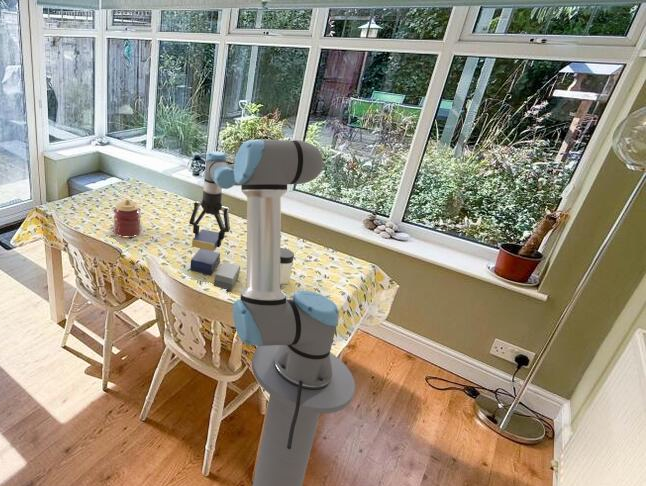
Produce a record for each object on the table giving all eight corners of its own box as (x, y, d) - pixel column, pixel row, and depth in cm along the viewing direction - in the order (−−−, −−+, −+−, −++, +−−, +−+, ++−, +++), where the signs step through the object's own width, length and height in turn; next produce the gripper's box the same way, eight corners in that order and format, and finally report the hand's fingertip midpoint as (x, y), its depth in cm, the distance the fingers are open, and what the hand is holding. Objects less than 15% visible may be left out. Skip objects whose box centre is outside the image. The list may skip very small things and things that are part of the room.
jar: (263, 278, 164) (267, 251, 160) (273, 270, 170) (278, 245, 165) (283, 287, 158) (288, 260, 154) (294, 279, 164) (299, 253, 159)
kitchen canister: (110, 229, 204) (109, 196, 197) (134, 225, 208) (134, 192, 202) (119, 240, 193) (119, 206, 186) (144, 236, 197) (145, 202, 191)
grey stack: (231, 290, 155) (232, 279, 153) (213, 286, 158) (214, 274, 156) (239, 276, 165) (240, 265, 163) (222, 272, 168) (223, 261, 166)
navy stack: (211, 275, 165) (212, 264, 163) (190, 270, 168) (191, 259, 167) (219, 263, 175) (220, 252, 173) (199, 258, 179) (200, 247, 177)
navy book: (213, 251, 160) (214, 244, 159) (191, 246, 164) (192, 239, 163) (222, 239, 171) (222, 233, 170) (201, 235, 175) (202, 229, 174)
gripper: (242, 193, 159) (236, 245, 167) (189, 184, 168) (185, 234, 176) (238, 199, 152) (231, 253, 160) (183, 189, 161) (179, 240, 169)
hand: (207, 243), depth 168 cm, fingers closed on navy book, 9 cm apart
